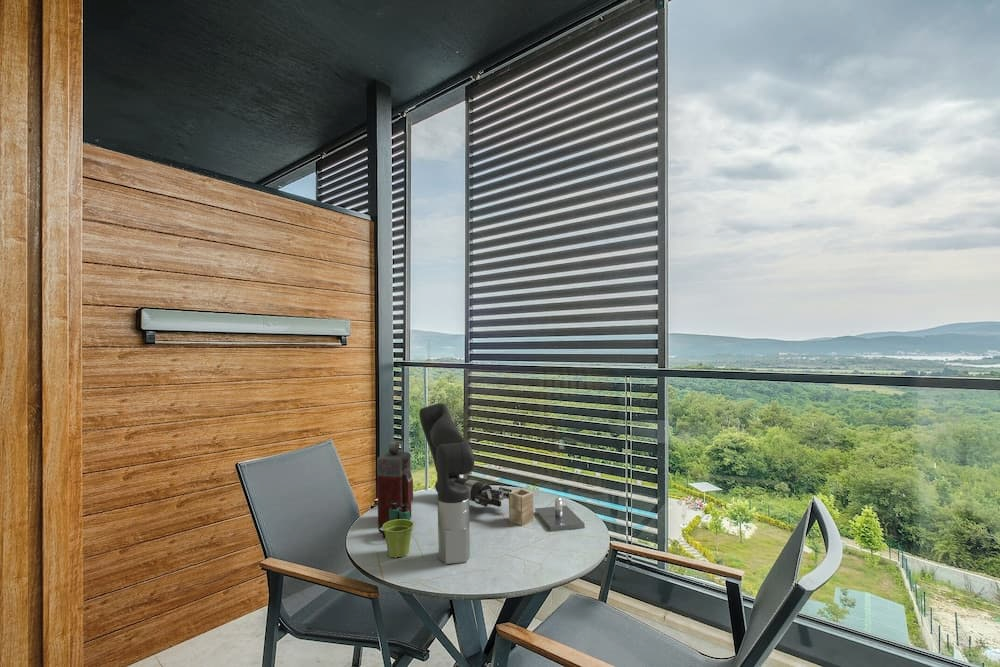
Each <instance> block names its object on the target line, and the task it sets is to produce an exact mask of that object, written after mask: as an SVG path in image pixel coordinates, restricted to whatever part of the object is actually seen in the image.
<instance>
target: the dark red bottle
mask: <svg viewBox="0 0 1000 667" xmlns="http://www.w3.org/2000/svg"><path fill="white" fill-rule="evenodd" d="M388 444H389V445H388V451H387V452H385V453H383V454H382V455H380V456H378V457H377V459H376V471H377V472H376V473H377V474H376V475H377V477H376V478H377V479H376V480H377V481H376V482H377V525H378V526H379V525H381V524H383V523H385V522H386V520H389V509H390V508H392V506H391V501H396V502H397V507H399V508H401V505H403V504H407V510H409V513H410V519H411V518H412V502H413V501H414V478H413V476H412V471H411V470H412V469H411V468H412V467H411V466H412V465H411V452H408V451H407V452H405V451H403V452H402V451H399V450H400V444H399V441H394V440H392V441H390V442H389V443H388ZM387 522H388V521H387Z"/></svg>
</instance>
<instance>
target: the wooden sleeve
mask: <svg viewBox="0 0 1000 667" xmlns="http://www.w3.org/2000/svg"><path fill="white" fill-rule="evenodd" d="M508 515H509V517H508V521H511V522H510V523H512V522H514V523H513V524H515V523H516V524H515V525H518V524H519V526H521V525H523V526H526V525H527V523H528V524H530V523H533V522H534V519H535V518H534V517H535V516H534V492H533V491H530V490H526V489H523V488H518V489H516V490H512V492H510V493H509V499H508ZM529 522H530V523H529ZM525 524H526V525H525Z"/></svg>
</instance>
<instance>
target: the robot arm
mask: <svg viewBox="0 0 1000 667" xmlns="http://www.w3.org/2000/svg"><path fill="white" fill-rule="evenodd" d="M418 415H419V421H420V425H421V428H422V432H423V434H424V437H425V439H426V442H427V444H428V447H429V449H430V452H431V455H432V459H433V463H434V467H435V471H436V478H437V481H436V482H435V484H434V487H435V491H436V493H437V533H438V534H437V536H438V537H437V538H438V539H437V542H438V543H437V544H438V546H437V547H438V550H437V552H438V560H439V561H441V562H443V563H444V564H445V565H450V564H460V563H467V562H468V560H469V559H470V556H471V547H470V546H471V543H470V542H471V541H470V540H471V539H470V538H471V536H470V530H471V529H470V502H474V503H475V504H476V505H477V504H478V505H480V506H483V507H488V506H495V507H498V508H500V507H502V501H503V500H506V499H507V500H509V493H510V492H513V490H512V489H510V488H505V487H502V486H501V487H498V489H496V488H493V487H492V486H491V485H490V484H489V483H485V482H483V481H479V480H474V479H468V478H464V477H461V476H462V475H467V474H469V473H471V472H473V469H474V466H475V455H474V451H473V449H472V446H471V445H470V444H469V442H468V441H467V440H466V439H465V438H464V437H463V436H462V434H461V432H460V430H459V428H458V427H457V425H456V423H455V422H454V420H453V418H452V415H451V414H450V411H449V408H448V407H447V405H446V404H445V403H442V402H440V403H436V404H431V405H429V406H425V407H422V408H420V409H419V412H418Z"/></svg>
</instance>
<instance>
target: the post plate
mask: <svg viewBox="0 0 1000 667" xmlns="http://www.w3.org/2000/svg"><path fill="white" fill-rule="evenodd" d="M534 510H535V514H536V515H537V517H538V516H539V518H538V519H539V520H541V522H542V523H543V524H544V525H545V527H546V528H547V530H549V532H556V531H557V532H558V531H568V530H569V531H570V530H577V529H585V527H586V526H585V522H584V521H582V520H581V518H580V517H579V516H578V515H577V514H576V513H574V511H573V510H572V509H571V508H569V506H567V505H563V499H562V498H561V497H560V496H559V497H556V498H555V499H554V506H546V507H537V508H534Z"/></svg>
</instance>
